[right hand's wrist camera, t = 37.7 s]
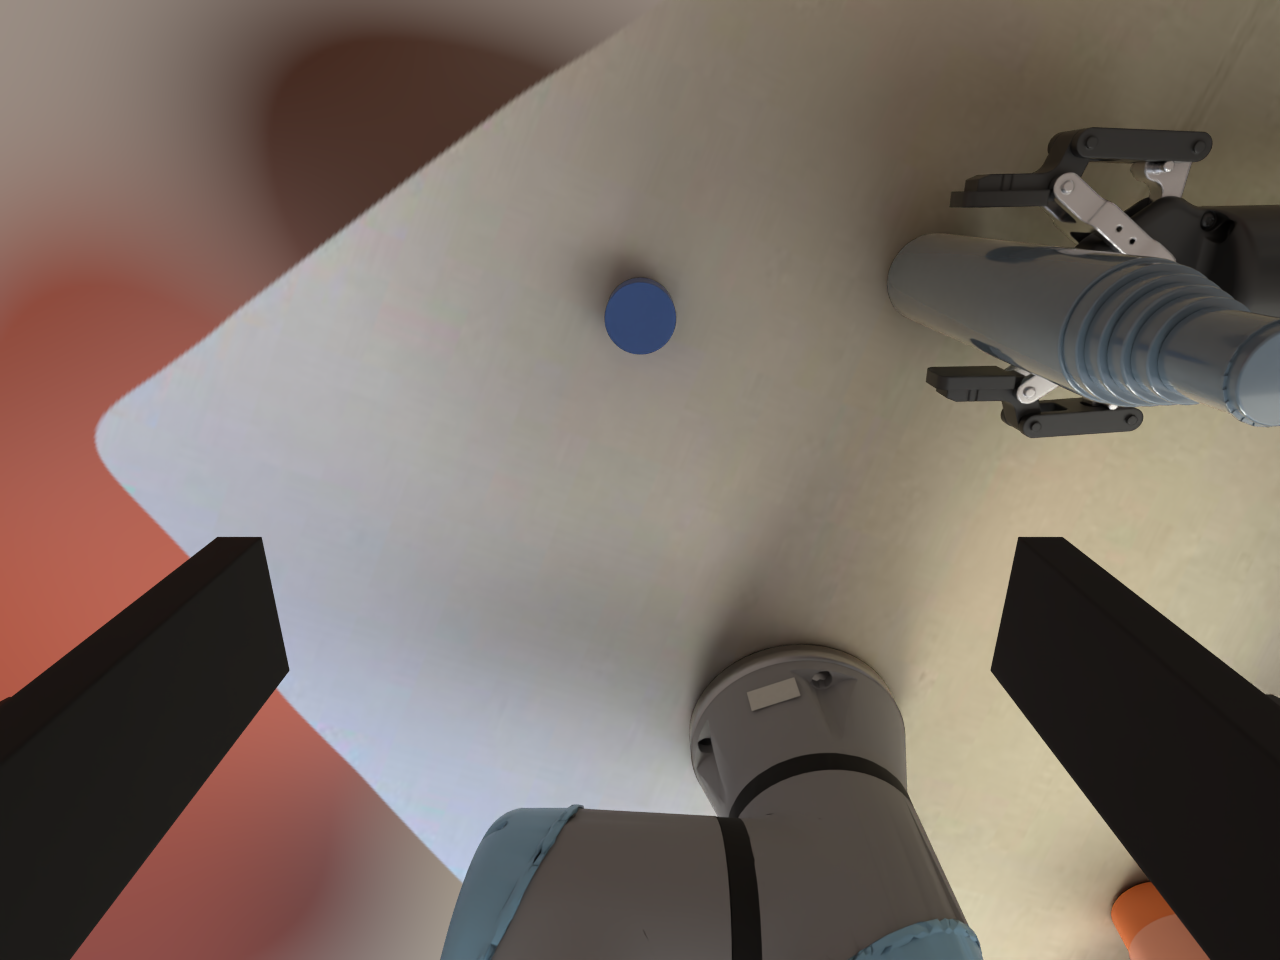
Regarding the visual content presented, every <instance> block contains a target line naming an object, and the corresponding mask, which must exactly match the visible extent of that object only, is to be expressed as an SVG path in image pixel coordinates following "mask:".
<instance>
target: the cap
mask: <svg viewBox="0 0 1280 960" xmlns="http://www.w3.org/2000/svg"><path fill="white" fill-rule="evenodd" d="M675 324H676V312H675V308H674V305H673V301H672V299H671V296H670V295H669V293H668V292H667V290H666V289H665V288H664V287H663V286H662V285H661V284H659V283H658V282H656V281H654V280H652V279H648V278H633V279H629V280H627V281H625V282H623V283H621V284H620V285H619V286H618V287H617V288H616V289H615V290H614V291H613V293H612V294H611V296H610V298H609V301H608V304H607V307H606V311H605V326H606V330H607V332H608V335H609V336H610V338H611V339H612V341H613V342H614V343H615V344H616V345H617V346H618V347H619V348H621V349H623V350H624V351H626V352H629V353H633V354H648V353H652V352H654V351H656V350H658V349H660V348H661V347H663V346H664V345H665V344H666V343H667V342H668V340H669V339H670V338H671V336H672V334H673V332H674V329H675Z"/></svg>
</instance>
